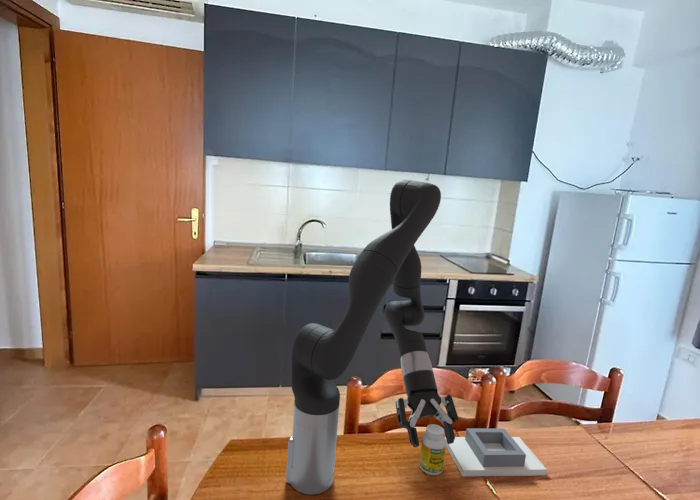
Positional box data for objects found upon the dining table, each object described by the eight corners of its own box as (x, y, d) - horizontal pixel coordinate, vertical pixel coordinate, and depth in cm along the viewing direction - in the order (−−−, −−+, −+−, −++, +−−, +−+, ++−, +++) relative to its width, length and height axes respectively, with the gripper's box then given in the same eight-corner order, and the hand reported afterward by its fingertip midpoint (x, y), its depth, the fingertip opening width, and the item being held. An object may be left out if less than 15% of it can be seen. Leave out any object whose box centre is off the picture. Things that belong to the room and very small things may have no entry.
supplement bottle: (434, 458, 95) (439, 420, 93) (447, 473, 90) (452, 434, 88) (414, 462, 93) (419, 423, 91) (426, 478, 88) (431, 437, 86)
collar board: (462, 476, 89) (465, 458, 89) (443, 442, 101) (445, 426, 100) (545, 475, 92) (549, 457, 91) (518, 442, 104) (520, 426, 103)
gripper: (396, 369, 95) (410, 444, 86) (450, 367, 98) (469, 438, 89) (386, 380, 101) (398, 451, 91) (437, 377, 104) (454, 445, 95)
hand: (433, 445), depth 90 cm, fingers open, 8 cm apart
